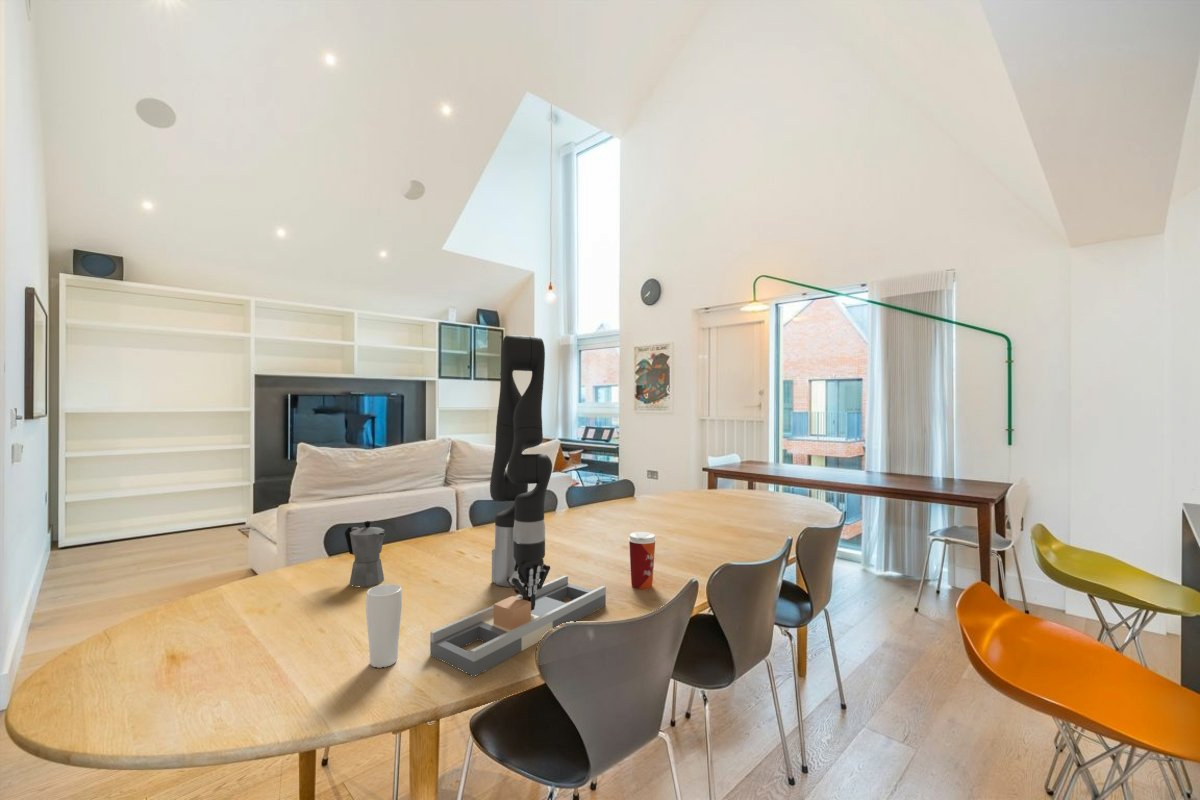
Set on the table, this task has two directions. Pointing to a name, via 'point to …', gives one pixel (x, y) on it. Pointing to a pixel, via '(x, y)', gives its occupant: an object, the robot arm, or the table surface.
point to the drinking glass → (383, 623)
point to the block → (512, 612)
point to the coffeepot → (365, 554)
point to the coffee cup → (642, 559)
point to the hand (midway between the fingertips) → (528, 610)
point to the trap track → (513, 641)
